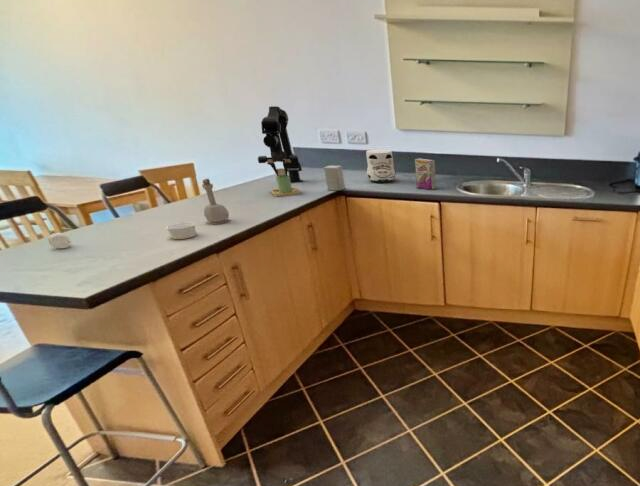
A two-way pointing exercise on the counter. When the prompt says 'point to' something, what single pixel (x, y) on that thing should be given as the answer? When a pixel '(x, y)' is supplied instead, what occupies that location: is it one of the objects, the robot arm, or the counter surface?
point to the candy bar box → (425, 174)
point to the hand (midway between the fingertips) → (282, 175)
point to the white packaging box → (334, 177)
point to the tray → (277, 193)
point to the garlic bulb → (59, 240)
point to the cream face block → (380, 166)
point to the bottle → (284, 184)
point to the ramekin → (182, 230)
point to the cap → (281, 171)
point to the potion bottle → (214, 206)
